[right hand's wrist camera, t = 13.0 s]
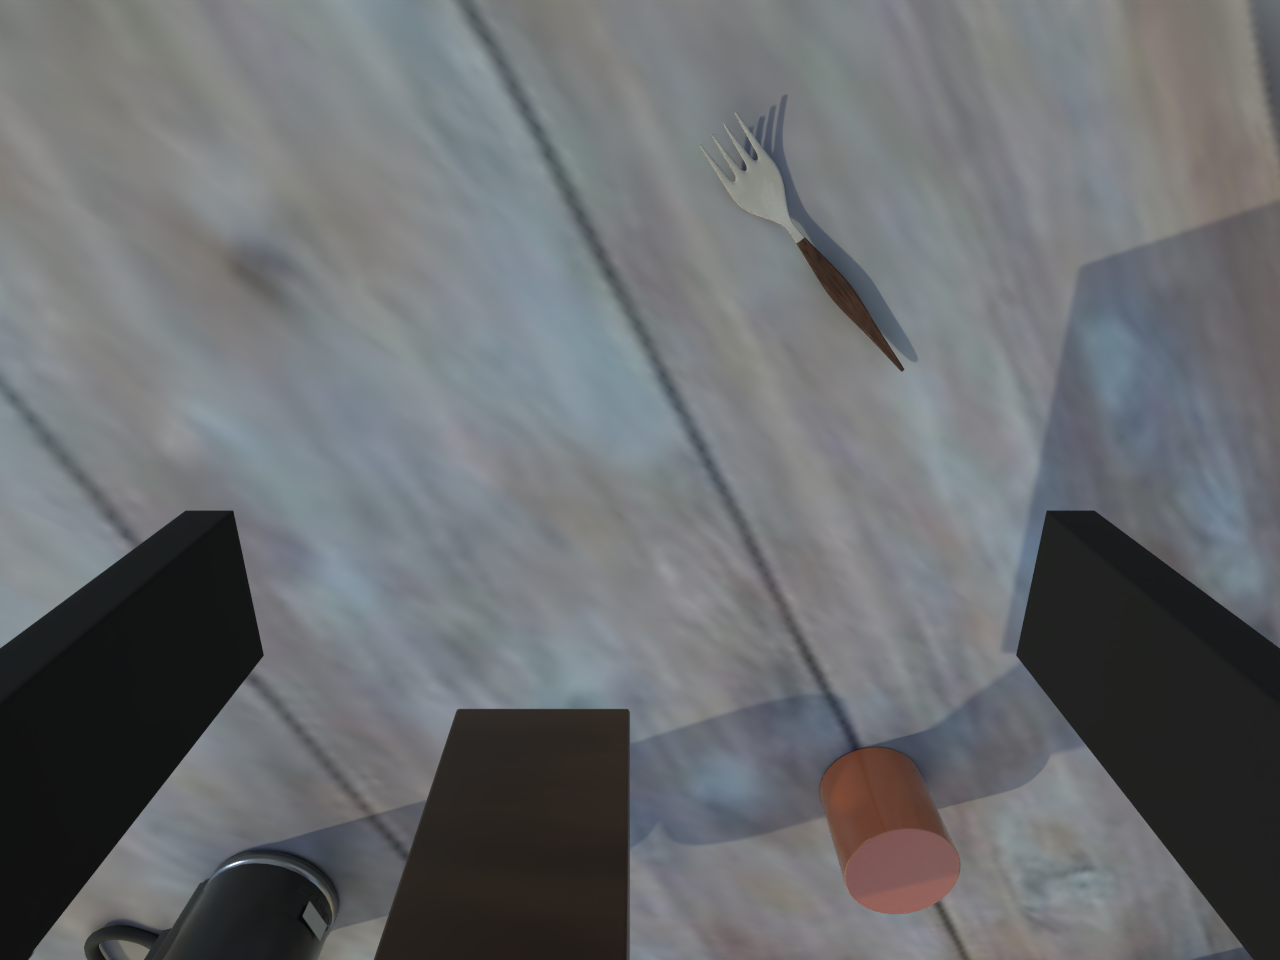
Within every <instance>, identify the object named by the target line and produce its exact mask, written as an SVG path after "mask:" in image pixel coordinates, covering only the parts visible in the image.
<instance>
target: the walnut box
mask: <svg viewBox="0 0 1280 960" xmlns="http://www.w3.org/2000/svg"><path fill="white" fill-rule="evenodd" d="M374 960H630V712H629V710H628V709H458V710H457V711H456V714H455V717H454V720H453V723H452V726H451V729H450V732H449V735H448V738H447V741H446V744H445V747H444V750H443V753H442V756H441V759H440V762H439V765H438V768H437V771H436V774H435V777H434V780H433V783H432V786H431V789H430V792H429V796H428V799H427V802H426V805H425V808H424V811H423V814H422V817H421V820H420V823H419V826H418V829H417V832H416V835H415V838H414V841H413V844H412V847H411V850H410V853H409V856H408V859H407V862H406V865H405V868H404V871H403V874H402V877H401V880H400V883H399V886H398V889H397V892H396V895H395V898H394V901H393V904H392V907H391V910H390V913H389V916H388V919H387V922H386V925H385V928H384V931H383V934H382V937H381V940H380V943H379V946H378V949H377V952H376V955H375V958H374Z"/></svg>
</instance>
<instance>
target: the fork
mask: <svg viewBox="0 0 1280 960" xmlns="http://www.w3.org/2000/svg"><path fill="white" fill-rule="evenodd" d="M734 114H735V115H736V117H737V119H738V120H739V122H740V124H741V126H742V128H743V130H744V131H745V133H746V135H747V137H748V139H749V140H750V142H751V144H752V146H753V147H754V149H755V151H756V153H757V155H758V160H757V161H755V160H753V159H752V158H751V157H750V156H749V154H748V153H747V152H746V151H745V149H744V148H743V147H742V145H741V144H740V143H739V142H738V140H737V139H736V138H735V136H734V135H733V134H732V133H731V131H730V130H729V129H728V128H727V126H726V125H725V124H724V123H723V125H724V127H725V129H726V131H727V132H728V134H729V136H730V138H731V140H732V141H733V143H734V145H735V147H736V148H737V150H738V152H739V153H740V155H741V157H742V158H743V160H744V162H745V164H746V167H747V169H746V171H743V170H742V169H741V168H740V167H739V166H738V165H737V164H736V163H735V161H734V160H733V159H732V158H731V156H730V155H729V154H728V153H727V151H726V150H725V149H724V148H723V146H722V145H721V144H720V143H719V142H718V140H717V139H716V138H715V137H714V135H713V134H711V135H712V137H713V139H714V141H715V142H716V144H717V146H718V147H719V149H720V151H721V153H722V154H723V156H724V158H725V159H726V161H727V163H728V164H729V166H730V167H731V169H732V171H733V173H734V175H735V178H736V179H735V181H731V180H730V179H729V178H728V177H727V176H726V174H725V173H724V172H723V171H722V170H721V168H720V167H719V166H718V165H717V164H716V162H715V161H714V160H713V159H712V158H711V156H710V155H709V154H708V153H707V152H706V150H705V149H704V148H703V146H702V145H700V148H701V149H702V151H703V152H704V154H705V155H706V157H707V159H708V160H709V162H710V164H711V165H712V167H713V168H714V170H715V172H716V173H717V175H718V176H719V178H720V179H721V181H722V183H723V184H724V186H725V187H726V189H727V190H728V192H729V194H730V195H731V197H732V198H733V200H734V201H735V202H736V203H737V204H738V205H739V206H740V207H741V208H742V209H744V210H745V211H747V212H749V213H751V214H754V215H756V216H759V217H762V218H765V219H768V220H771V221H774V222H776V223H779V224H780V225H782V226H783V227H785V228H786V229H787V230H788V231H789V233H790V234H791V236H792V237H793V239H794V240H795V242H796V243H797V245H798V247H799V248H800V250H801V251H802V253H803V255H804V256H805V258H806V260H807V261H808V263H809V265H810V266H811V268H812V270H813V271H814V273H815V275H816V276H817V278H818V279H819V281H820V283H821V284H822V286H823V287H824V289H825V290H826V292H827V293H828V294H829V296H830V297H831V298H832V299H833V301H834V302H835V303H836V304H837V305H838V306H839V307H840V308H841V309H842V311H843V312H844V313H845V314H846V315H847V316H848V317H849V318H850V319H851V320H852V321H853V322H854V323H855V324H856V325H857V326H858V327H859V328H861V329H862V331H863V332H864V333H865V334H866V335H867V336H868V337H869V338H870V339H871V340H872V341H873V342H874V343H875V344H876V345H877V346H878V347H879V348H880V349H881V350H882V351H883V352H884V354H885V355H886V356H887V357H888V358H889V359H890V360H891V361H892V362H893V363H894V364H895V365H896V366H897V367H898V369H899V370H900V371H903V370H904V368H903V366H902V365H901V363H900V362H899V360H898V359H897V357H896V356H895V354H894V352H893V351H892V349H891V348H890V346H889V345H888V343H887V342H886V340H885V339H884V337H883V335H882V334H881V332H880V331H879V329H878V327H877V326H876V324H875V323H874V321H873V319H872V318H871V316H870V314H869V313H868V311H867V309H866V308H865V306H864V305H863V303H862V301H861V300H860V298H859V297H858V295H857V294H856V292H855V291H854V289H853V288H852V287H851V285H850V284H849V283H848V282H847V280H846V279H845V278H844V277H843V276H842V275H841V274H840V273H839V272H838V271H837V269H836V268H835V267H834V266H833V265H832V264H831V263H830V262H829V261H828V260H827V259H826V258H825V257H824V256H823V255H822V254H821V253H820V252H819V251H818V250H817V249H816V248H815V247H814V246H813V245H812V244H811V243H810V242H809V241H808V240H807V239H806V238H805V237H804V236H803V235H802V234H801V233H800V232H799V231H798V229H797V228H796V227H795V226H794V224H793V223H792V221H791V219H790V216H789V213H788V208H787V202H786V194H785V188H784V183H783V180H782V176H781V174H780V171H779V169H778V167H777V166H776V164H775V163H774V161H773V160H772V159H771V158H770V156H769V155H768V154H767V153H766V152H765V150H764V149H763V148H762V146H761V145H760V144H759V142H758V141H757V140H756V138H755V137H754V136H753V134H752V133H751V131H750V130H749V129H748V128H747V126H746V125H745V124H744V122H743V121H742V120H741V118H740V117H739V115H738V114H737V112H735V113H734Z"/></svg>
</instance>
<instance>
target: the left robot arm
mask: <svg viewBox="0 0 1280 960" xmlns="http://www.w3.org/2000/svg"><path fill="white" fill-rule="evenodd" d="M338 907H339V905H338V897H337V894H336V891H335V889H334V887H333V886H332V884H331V882H330V881H329V880H328V879H327V877H326V876H325V875H324V874H323V873H322V872H321V871H319V870H318V869H317V868H316V867H314V866H313V865H311V864H309V863H308V862H306V861H304V860H302V859H300V858H297V857H294V856H292V855H288V854H285V853H280V852H274V851H252V852H246V853H242V854H239V855H236V856H233V857H231V858H229V859H227V860H226V861H224V862H223V863H222V864H221V865H219V866H218V868H217V869H216V870H215V871H214V873H213V874H212V876H211V878H210V879H209V881H206V882H203V883H200V884H199V885H198V887H197V889H196V890H195V892H194V893H193V895H192V897H191V898H190V900H189V901H188V903H187V905H186V906H185V908H184V910H183V911H182V913H181V914H180V916H179V918H178V919H177V921H176V922H175V924H174V926H173V927H172V928H171V929H167V930H163V931H162V932H161V934H160V935H159V937H158V936H157V935H155V934H153V933H150V932H147V931H144V930H141V929H138V928H134V927H129V926H109V927H105V928H102V929H99V930H98V931H96V932H94V933H92V934H91V935H90V936H89V937H88V939H87V940H86V943H85V946H84V950H85V955H86V958H87V960H106V959H105V957H104V956H103V954H102V953H101V951H100V949H99V943H100V942H102V941H106V940H125V941H130V942H134V943H137V944H140V945H142V946H145V947H146V948H148V949H150V951H149V953H148V954H147V956H146V958H145V959H144V960H318V957H319V955H320V952H321V950H322V947H323V945H324V942H325V940H326V938H327V936H328V935H329V933H330V931H331V929H332V927H333V924H334V922H335V919H336V917H337V913H338ZM33 954H34V952H32V953H31V954H30V956H29V957H28V958H27V959H26V960H29V959H30V957H31V956H32V955H33Z"/></svg>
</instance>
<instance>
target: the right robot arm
mask: <svg viewBox="0 0 1280 960" xmlns="http://www.w3.org/2000/svg"><path fill="white" fill-rule="evenodd" d="M263 656H264V655H263V650H262V645H261V640H260V636H259V631H258V626H257V621H256V617H255V612H254V607H253V602H252V598H251V593H250V588H249V583H248V579H247V574H246V569H245V564H244V560H243V555H242V550H241V545H240V541H239V536H238V531H237V526H236V522H235V517H234V512H233V511H185V512H183V513H182V514H181V515H179V516H178V517H177V518H175V519H174V520H173V521H171V522H170V523H169V524H167V525H166V526H164V527H163V528H162V529H160V530H159V531H158V532H156V533H155V534H154V535H152V536H151V537H150V538H148V539H147V540H146V541H144V542H143V543H142V544H140V545H139V546H138V547H136V548H135V549H134V550H132V551H131V552H129V553H128V554H127V555H125V556H124V557H123V558H121V559H120V560H119V561H117V562H116V563H115V564H113V565H112V566H111V567H109V568H108V569H107V570H105V571H104V572H103V573H101V574H100V575H99V576H97V577H96V578H95V579H93V580H92V581H90V582H89V583H88V584H86V585H85V586H84V587H82V588H81V589H80V590H78V591H77V592H76V593H74V594H73V595H72V596H70V597H69V598H68V599H66V600H65V601H64V602H62V603H61V604H60V605H58V606H57V607H55V608H54V609H53V610H51V611H50V612H49V613H47V614H46V615H45V616H43V617H42V618H41V619H39V620H38V621H37V622H35V623H34V624H33V625H31V626H30V627H29V628H27V629H26V630H25V631H23V632H22V633H20V634H19V635H18V636H16V637H15V638H14V639H12V640H11V641H10V642H8V643H7V644H6V645H4V646H3V647H2V648H0V960H26V959H27V958H28V957H29V956H30V954H31V953H32V952H33V950H34V949H35V948H36V947H37V945H38V944H39V943H40V941H41V940H42V939H43V938H44V936H45V935H46V934H47V932H48V931H49V930H50V929H51V927H52V926H53V925H54V924H55V922H56V921H57V920H58V918H59V917H60V916H61V915H62V913H63V912H64V911H65V909H66V908H67V907H68V906H69V904H70V903H71V902H72V900H73V899H74V898H75V897H76V895H77V894H78V893H79V891H80V890H81V889H82V888H83V886H84V885H85V884H86V883H87V881H88V880H89V879H90V877H91V876H92V875H93V874H94V872H95V871H96V870H97V868H98V867H99V866H100V865H101V863H102V862H103V861H104V859H105V858H106V857H107V856H108V854H109V853H110V852H111V850H112V849H113V848H114V847H115V845H116V844H117V843H118V841H119V840H120V839H121V838H122V836H123V835H124V834H125V833H126V831H127V830H128V829H129V827H130V826H131V825H132V824H133V822H134V821H135V820H136V818H137V817H138V816H139V815H140V813H141V812H142V811H143V809H144V808H145V807H146V806H147V804H148V803H149V802H150V800H151V799H152V798H153V797H154V795H155V794H156V793H157V792H158V790H159V789H160V788H161V786H162V785H163V784H164V783H165V781H166V780H167V779H168V777H169V776H170V775H171V774H172V772H173V771H174V770H175V768H176V767H177V766H178V765H179V763H180V762H181V761H182V759H183V758H184V757H185V756H186V754H187V753H188V752H189V750H190V749H191V748H192V747H193V745H194V744H195V743H196V742H197V740H198V739H199V738H200V736H201V735H202V734H203V733H204V731H205V730H206V729H207V727H208V726H209V725H210V724H211V722H212V721H213V720H214V718H215V717H216V716H217V715H218V713H219V712H220V711H221V709H222V708H223V707H224V706H225V704H226V703H227V702H228V701H229V699H230V698H231V697H232V695H233V694H234V693H235V692H236V690H237V689H238V688H239V686H240V685H241V684H242V683H243V681H244V680H245V679H246V677H247V676H248V675H249V674H250V672H251V671H252V670H253V668H254V667H255V666H256V665H257V663H258V662H259V661H260V659H261V658H262V657H263ZM1016 656H1017V657H1018V658H1019V659H1020V661H1021V662H1022V663H1023V665H1024V666H1025V667H1026V668H1027V670H1028V671H1029V672H1030V674H1031V675H1032V676H1033V677H1034V679H1035V680H1036V681H1037V683H1038V684H1039V685H1040V686H1041V688H1042V689H1043V690H1044V692H1045V693H1046V694H1047V695H1048V697H1049V698H1050V699H1051V701H1052V702H1053V703H1054V704H1055V706H1056V707H1057V708H1058V709H1059V711H1060V712H1061V713H1062V715H1063V716H1064V717H1065V718H1066V720H1067V721H1068V722H1069V724H1070V725H1071V726H1072V727H1073V729H1074V730H1075V731H1076V733H1077V734H1078V735H1079V736H1080V738H1081V739H1082V740H1083V742H1084V743H1085V744H1086V745H1087V747H1088V748H1089V749H1090V750H1091V752H1092V753H1093V754H1094V756H1095V757H1096V758H1097V759H1098V761H1099V762H1100V763H1101V765H1102V766H1103V767H1104V768H1105V770H1106V771H1107V772H1108V774H1109V775H1110V776H1111V777H1112V779H1113V780H1114V781H1115V783H1116V784H1117V785H1118V786H1119V788H1120V789H1121V790H1122V792H1123V793H1124V794H1125V795H1126V797H1127V798H1128V799H1129V800H1130V802H1131V803H1132V804H1133V806H1134V807H1135V808H1136V809H1137V811H1138V812H1139V813H1140V815H1141V816H1142V817H1143V818H1144V820H1145V821H1146V822H1147V824H1148V825H1149V826H1150V827H1151V829H1152V830H1153V831H1154V833H1155V834H1156V835H1157V836H1158V838H1159V839H1160V840H1161V841H1162V843H1163V844H1164V845H1165V847H1166V848H1167V849H1168V850H1169V852H1170V853H1171V854H1172V856H1173V857H1174V858H1175V859H1176V861H1177V862H1178V863H1179V865H1180V866H1181V867H1182V868H1183V870H1184V871H1185V872H1186V874H1187V875H1188V876H1189V877H1190V879H1191V880H1192V881H1193V883H1194V884H1195V885H1196V886H1197V888H1198V889H1199V890H1200V891H1201V893H1202V894H1203V895H1204V897H1205V898H1206V899H1207V900H1208V902H1209V903H1210V904H1211V906H1212V907H1213V908H1214V909H1215V911H1216V912H1217V913H1218V915H1219V916H1220V917H1221V918H1222V920H1223V921H1224V922H1225V924H1226V925H1227V926H1228V927H1229V929H1230V930H1231V931H1232V932H1233V934H1234V935H1235V936H1236V938H1237V939H1238V940H1239V941H1240V943H1241V944H1242V945H1243V947H1244V948H1245V949H1246V950H1247V952H1248V953H1249V954H1250V956H1251V957H1252V958H1253V959H1254V960H1280V648H1278V647H1277V646H1276V645H1274V644H1273V643H1272V642H1270V641H1269V640H1268V639H1266V638H1265V637H1264V636H1262V635H1261V634H1259V633H1258V632H1257V631H1255V630H1254V629H1253V628H1251V627H1250V626H1249V625H1247V624H1246V623H1245V622H1243V621H1242V620H1241V619H1239V618H1238V617H1237V616H1235V615H1234V614H1233V613H1231V612H1230V611H1229V610H1227V609H1226V608H1225V607H1223V606H1222V605H1220V604H1219V603H1218V602H1216V601H1215V600H1214V599H1212V598H1211V597H1210V596H1208V595H1207V594H1206V593H1204V592H1203V591H1202V590H1200V589H1199V588H1198V587H1196V586H1195V585H1194V584H1192V583H1191V582H1190V581H1188V580H1187V579H1185V578H1184V577H1183V576H1181V575H1180V574H1179V573H1177V572H1176V571H1175V570H1173V569H1172V568H1171V567H1169V566H1168V565H1167V564H1165V563H1164V562H1163V561H1161V560H1160V559H1159V558H1157V557H1156V556H1155V555H1153V554H1152V553H1151V552H1149V551H1148V550H1146V549H1145V548H1144V547H1142V546H1141V545H1140V544H1138V543H1137V542H1136V541H1134V540H1133V539H1132V538H1130V537H1129V536H1128V535H1126V534H1125V533H1124V532H1122V531H1121V530H1120V529H1118V528H1117V527H1116V526H1114V525H1113V524H1111V523H1110V522H1109V521H1107V520H1106V519H1105V518H1103V517H1102V516H1101V515H1099V514H1098V513H1097V512H1095V511H1047V512H1046V517H1045V522H1044V526H1043V531H1042V536H1041V541H1040V545H1039V550H1038V555H1037V560H1036V564H1035V569H1034V574H1033V579H1032V583H1031V588H1030V593H1029V598H1028V602H1027V607H1026V612H1025V617H1024V621H1023V626H1022V631H1021V636H1020V640H1019V645H1018V650H1017V655H1016Z"/></svg>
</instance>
